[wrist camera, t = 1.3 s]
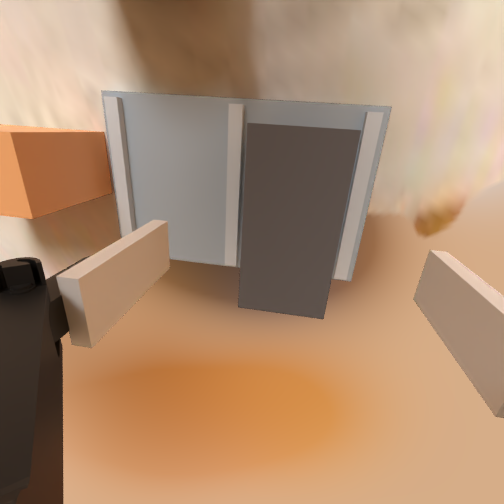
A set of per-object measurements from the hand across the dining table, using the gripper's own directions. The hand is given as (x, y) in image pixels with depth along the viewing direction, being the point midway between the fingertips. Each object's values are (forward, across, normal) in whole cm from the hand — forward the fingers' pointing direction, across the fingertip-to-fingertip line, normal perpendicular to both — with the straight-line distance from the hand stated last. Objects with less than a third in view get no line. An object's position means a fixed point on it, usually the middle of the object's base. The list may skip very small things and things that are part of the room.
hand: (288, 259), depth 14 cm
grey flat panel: (+14, -6, 0) cm, 15 cm away
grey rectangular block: (+13, 0, 0) cm, 13 cm away
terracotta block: (+14, -25, +2) cm, 29 cm away
